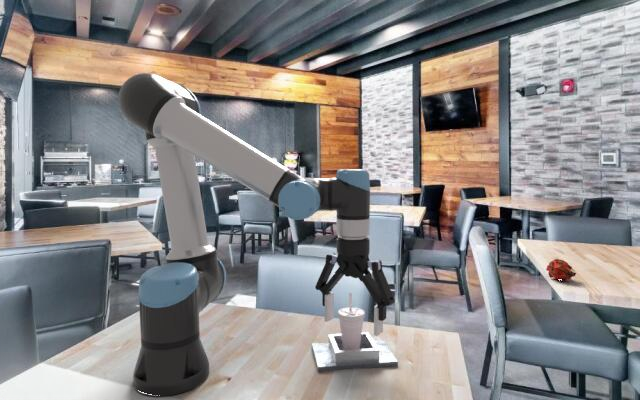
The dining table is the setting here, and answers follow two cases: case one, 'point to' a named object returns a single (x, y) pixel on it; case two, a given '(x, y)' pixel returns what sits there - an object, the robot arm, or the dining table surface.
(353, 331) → the smoothie
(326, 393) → the dining table surface
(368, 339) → the collar
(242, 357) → the dining table surface
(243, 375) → the dining table surface
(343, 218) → the robot arm
